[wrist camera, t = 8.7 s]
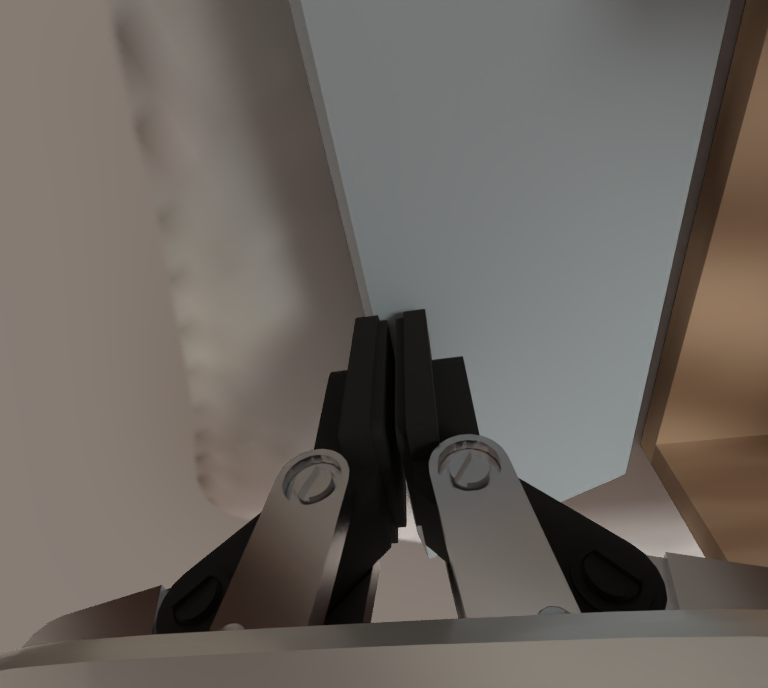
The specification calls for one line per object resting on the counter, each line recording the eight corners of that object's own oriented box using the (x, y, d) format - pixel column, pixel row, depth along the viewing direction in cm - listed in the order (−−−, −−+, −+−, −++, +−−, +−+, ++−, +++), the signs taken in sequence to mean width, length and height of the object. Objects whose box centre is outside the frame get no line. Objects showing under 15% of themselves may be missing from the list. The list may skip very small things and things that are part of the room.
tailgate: (731, -281, 8) (234, -225, 6) (805, -333, 7) (236, -280, 5) (605, 453, 19) (417, 532, 18) (625, 474, 18) (429, 559, 17)
